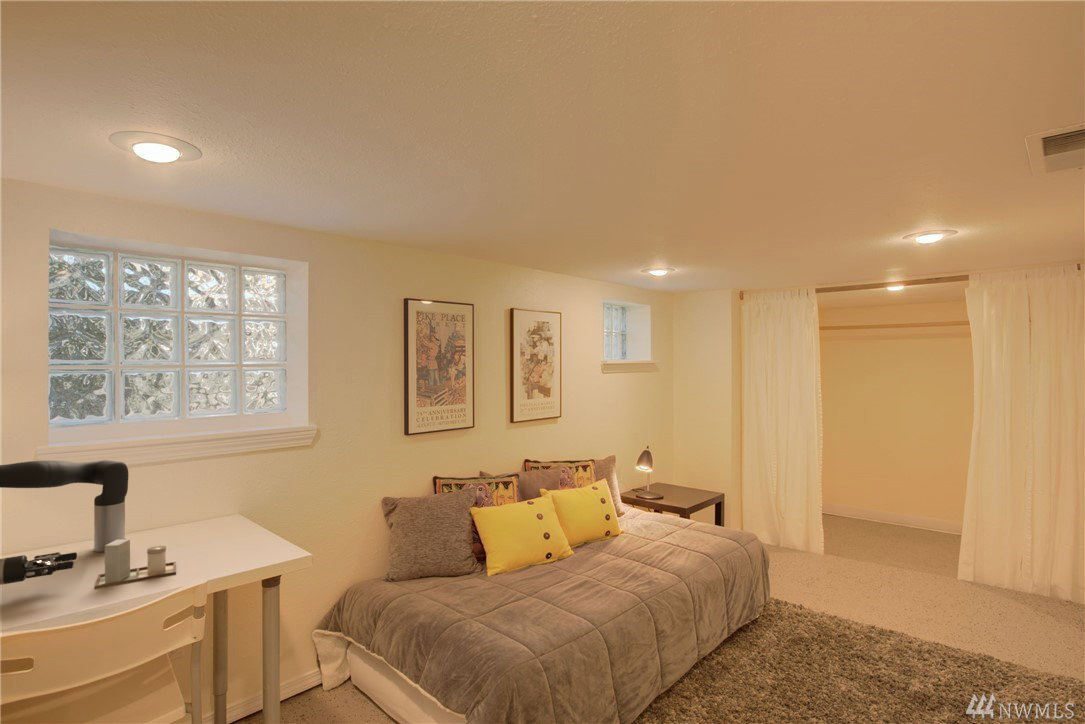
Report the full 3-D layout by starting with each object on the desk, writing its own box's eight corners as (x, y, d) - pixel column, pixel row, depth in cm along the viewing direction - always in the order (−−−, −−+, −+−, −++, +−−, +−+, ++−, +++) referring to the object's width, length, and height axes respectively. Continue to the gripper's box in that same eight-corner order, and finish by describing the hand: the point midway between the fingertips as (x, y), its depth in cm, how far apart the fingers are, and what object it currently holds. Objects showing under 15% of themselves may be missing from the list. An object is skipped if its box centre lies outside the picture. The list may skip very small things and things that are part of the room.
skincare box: (116, 575, 182) (116, 539, 182) (130, 575, 183) (130, 538, 183) (104, 583, 176) (104, 545, 176) (118, 582, 177) (118, 545, 177)
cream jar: (147, 571, 186) (147, 547, 186) (166, 568, 189) (166, 544, 189) (146, 576, 182) (146, 552, 182) (166, 573, 185) (166, 549, 185)
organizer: (98, 580, 181) (98, 574, 181) (175, 566, 193) (175, 561, 193) (94, 591, 172) (94, 586, 172) (175, 577, 184) (175, 571, 184)
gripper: (-2, 566, 159) (71, 555, 168) (9, 551, 171) (77, 541, 180) (-2, 592, 159) (72, 579, 168) (9, 575, 171) (78, 564, 180)
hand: (74, 559), depth 174 cm, fingers open, 8 cm apart
